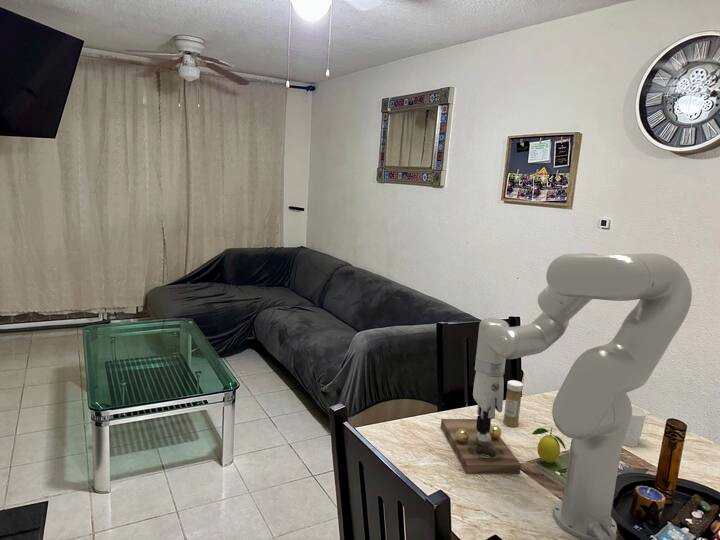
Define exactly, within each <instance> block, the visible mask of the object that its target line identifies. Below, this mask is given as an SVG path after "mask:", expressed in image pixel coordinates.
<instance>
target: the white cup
mask: <svg viewBox="0 0 720 540" xmlns="http://www.w3.org/2000/svg"><path fill="white" fill-rule="evenodd" d="M631 405H632V416H631V421H630V424H629V427H628V430H627V433H626V435H625V438H624V442H623V446H625V447H631V448H635V447H638V445H639V444H640V443H639V442H640V439H641V437H642V433H643V429H644V425H645V419H646V416H647V412H646V411H645V410H644V409H643V408H641V407H639V406H638V405H637V406H636V405H633V404H631Z"/></svg>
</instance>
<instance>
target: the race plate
mask: <svg viewBox="0 0 720 540" xmlns="http://www.w3.org/2000/svg"><path fill="white" fill-rule="evenodd" d="M476 425H477V418H441V422H440V428H441V429H442V431H443V434H444V435H445V437H446V439H447V441H448V443H449V445H450V446H451V448H452V450H453V452H454V454H455V456H456V458H457V459H458V462H459V463H460V465H461V467H462V469H463V471H464V472H465V474H466V475H504V474H505V475H512V474H513V475H520V474H521V470H522V468H521V467H522V464H521V463H520V461H519V460H518V459H517V457H516V456H515V454H514V453H513V452H512V450H511V449H510V448H509V446H508V445H507V444H506V442H505V441H504V440H503V438H502V437H501V436H500V437H499V438H498V439H493V438H491V442H490V444H489V445H488V446H480V445H479V444H478V443H477V441H476V435H477V433H478V430H477V429H476ZM491 426H493V425H492V423H491V424H490V427H491ZM459 429H464V430H466V431H467V432H468V434H469V438H468V440H467V441H466V442H464V443H461V442H459V441H458V440H457V439H456V432H457V431H458V430H459ZM486 456H487V457H486Z"/></svg>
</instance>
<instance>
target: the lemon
mask: <svg viewBox="0 0 720 540" xmlns="http://www.w3.org/2000/svg"><path fill="white" fill-rule="evenodd" d="M552 431H553V427H551V428H550V430H548V429H546V428H543V427H539V428H537V429H535V430H534V431H533V432H532V434H531V435H541V434H542V435H543V434H546V433H550V434H549V435H545V436H543V437H542V438H540V440H539V441H538V444H537V455H538V456H539V457H540V459H542V460H543V461H544V462H545V463H547V464H549V463H554V462H556V461H557V460H558V459H559V457H560V453H561V446H562V447H563V448H564V450H566V448H567V447H566V444H565V443H564V441H563V440H562V439H561V437H559V436H556V435H554V434H553V433H552ZM560 444H561V446H560Z"/></svg>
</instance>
